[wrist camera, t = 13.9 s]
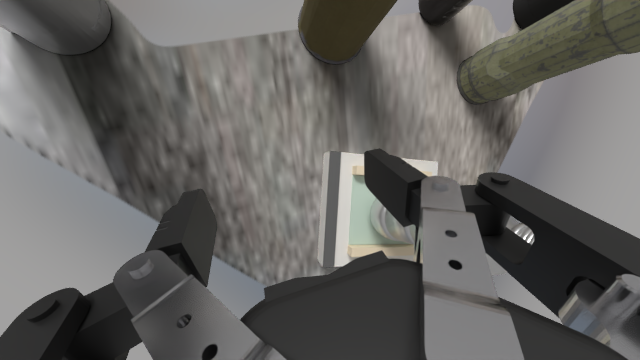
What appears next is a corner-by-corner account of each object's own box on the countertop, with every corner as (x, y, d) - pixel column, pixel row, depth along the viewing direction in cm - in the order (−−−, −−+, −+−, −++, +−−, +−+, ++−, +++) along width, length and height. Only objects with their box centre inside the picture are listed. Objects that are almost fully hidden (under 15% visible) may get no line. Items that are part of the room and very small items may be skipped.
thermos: (488, 45, 42) (1400, -485, 8) (499, 108, 43) (1375, -147, 9) (450, 50, 40) (1479, -642, 6) (462, 116, 41) (1435, -180, 7)
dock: (317, 259, 34) (325, 271, 30) (323, 153, 34) (333, 149, 30) (419, 256, 39) (439, 266, 34) (424, 163, 39) (445, 161, 35)
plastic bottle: (378, 244, 33) (545, 336, 14) (356, 206, 32) (501, 247, 13) (411, 218, 35) (603, 270, 15) (390, 181, 34) (567, 185, 14)
